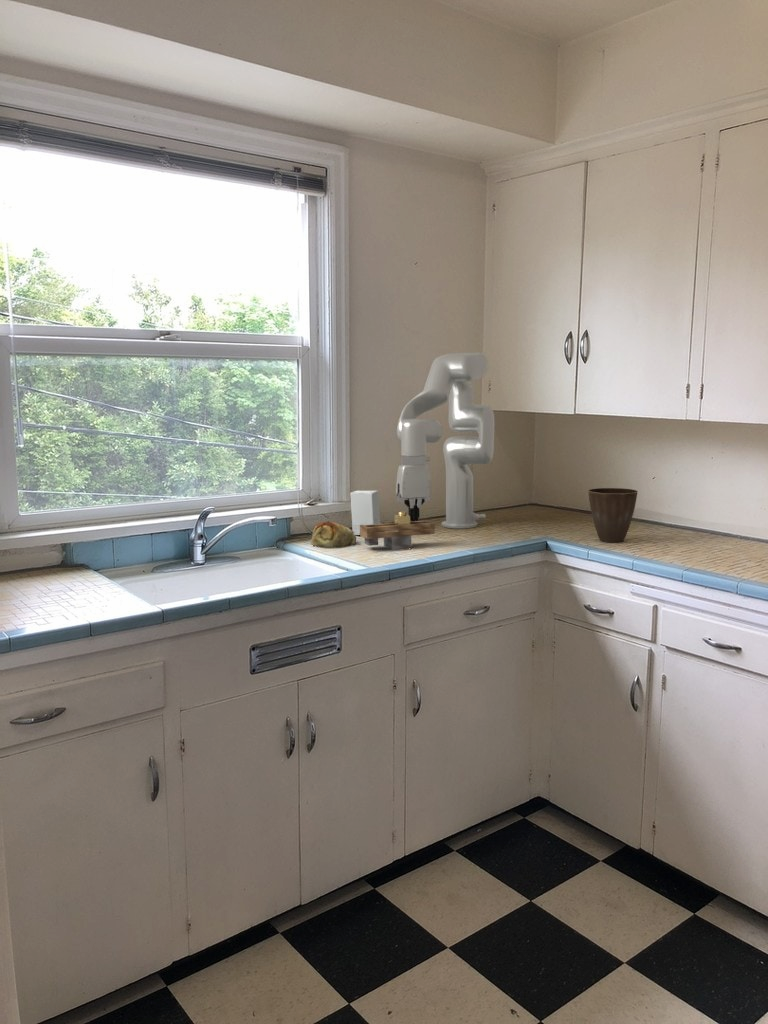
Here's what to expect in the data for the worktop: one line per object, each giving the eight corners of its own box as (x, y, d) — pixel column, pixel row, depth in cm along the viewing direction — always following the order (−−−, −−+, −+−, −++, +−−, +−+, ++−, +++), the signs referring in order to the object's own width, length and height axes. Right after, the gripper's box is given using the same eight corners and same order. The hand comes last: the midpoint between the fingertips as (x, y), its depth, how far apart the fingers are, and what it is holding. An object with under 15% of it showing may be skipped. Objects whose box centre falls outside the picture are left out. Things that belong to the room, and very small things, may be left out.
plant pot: (577, 541, 257) (579, 490, 255) (602, 534, 267) (603, 486, 265) (620, 547, 247) (622, 495, 244) (644, 540, 257) (646, 490, 255)
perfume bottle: (406, 527, 252) (406, 511, 251) (410, 528, 249) (410, 512, 249) (394, 528, 251) (394, 512, 250) (398, 529, 248) (397, 513, 247)
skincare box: (381, 534, 273) (380, 490, 271) (373, 537, 267) (373, 492, 265) (358, 532, 276) (357, 489, 274) (350, 535, 271) (349, 491, 268)
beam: (425, 542, 258) (425, 519, 257) (435, 546, 250) (435, 523, 249) (359, 547, 250) (359, 524, 249) (368, 552, 243) (367, 528, 242)
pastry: (307, 548, 251) (306, 523, 249) (315, 541, 263) (314, 516, 262) (352, 549, 249) (351, 523, 248) (358, 541, 261) (358, 517, 260)
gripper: (431, 459, 254) (431, 517, 257) (386, 461, 249) (387, 520, 252) (441, 461, 247) (441, 520, 250) (395, 463, 242) (395, 524, 245)
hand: (414, 520), depth 251 cm, fingers closed
